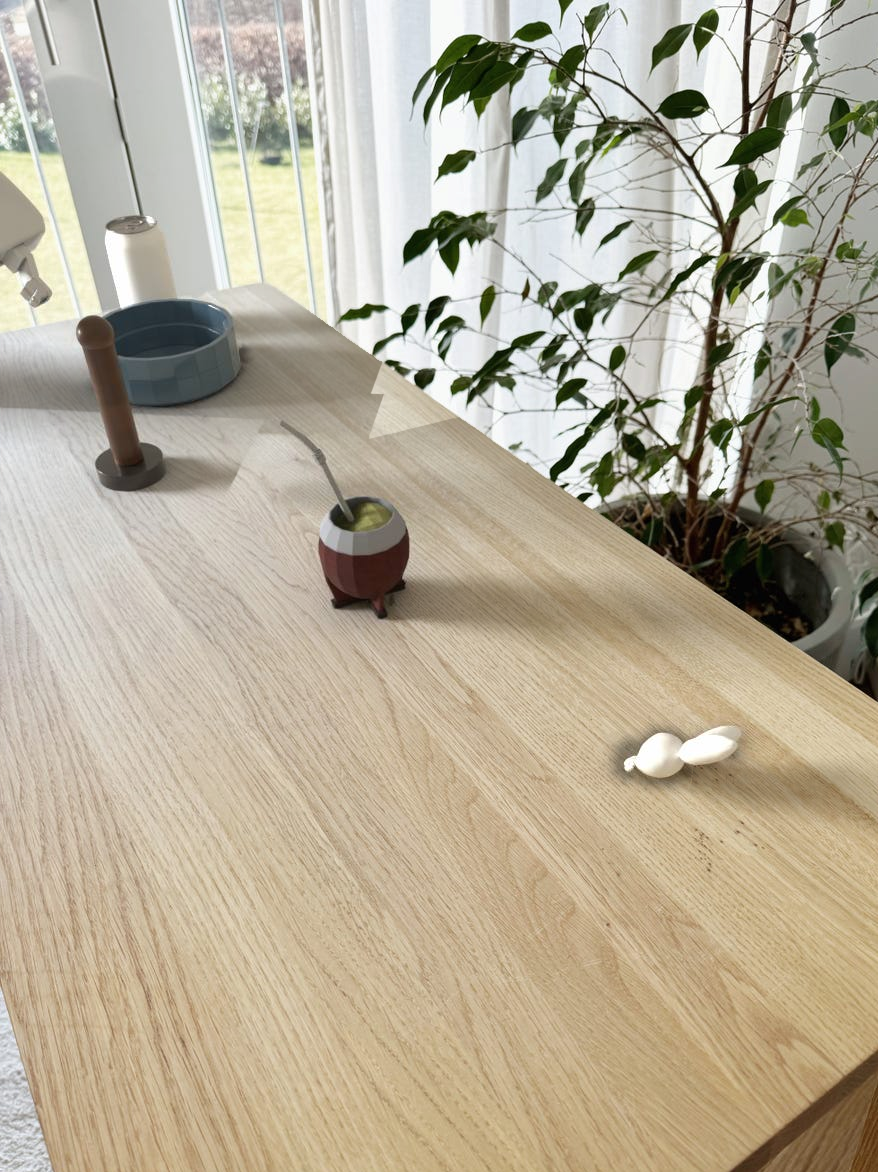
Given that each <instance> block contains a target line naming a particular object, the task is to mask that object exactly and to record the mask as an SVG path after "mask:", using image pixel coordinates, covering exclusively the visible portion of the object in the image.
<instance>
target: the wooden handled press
mask: <svg viewBox="0 0 878 1172" xmlns="http://www.w3.org/2000/svg"><path fill="white" fill-rule="evenodd" d="M75 336H76V339H77V342H78V343H79V345H80V346H81V348H82V353H83V355H84V360H85V363H86V366H87V369H88V373H89V377H90V380H91V384H92V387H93V392H94V394H95V398H96V401H97V405H98V409H99V413H100V415H101V420H102V423H103V426H104V430H105V434H106V436H107V437H106V438H107V441H108V444H109V448H107V449H105V450H103V452H101V453H100V454H99V455H98V456H97V457H96V459H95V462H94V468H95V470H96V473H97V478H98V481H99V483H100V484H101V486H103V487H104V488H105V489H108V490H111V491H116V492H133V491H139V490H143V489H146V488H149V487H151V486H153V485H155V484H156V483H158V482H159V481H161V480H162V479H163V478H164V476H165V475H166V473H167V466H166V462H165V457H164V453H163V451H162V450H161V448H160V447H159V446H157V445H154V444H151V443H148V442H141V441H140V437H139V434H138V429H137V426H136V422H135V418H134V414H133V410H132V407H131V403H130V402H129V398H128V394H127V390H126V386H125V383H124V379H123V375H122V371H121V367H120V363H119V359H118V355H117V352H116V348H115V344H114V330H113V328H112V326H111V324H110V323H109V322H108V321H107V320H106V319H104V318H103V316H100V315H98V314H97V315H95V314H91V315H86V316H84V317H83V318H81V319H80V320H79V322H78V323H77V325H76V328H75Z"/></svg>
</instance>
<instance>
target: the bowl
mask: <svg viewBox="0 0 878 1172" xmlns="http://www.w3.org/2000/svg"><path fill="white" fill-rule="evenodd" d="M102 317H103V318H104V319H106V320H107V321H108V322H109V323H110V324H111V326H112V328H113V330H114V344H115V348H116V352H117V355H118V359H119V363H120V367H121V371H122V375H123V379H124V383H125V386H126V390H127V394H128V398H129V402H130V405H131V404H132V405H137V406H145V407H147V406H148V407H165V406H166V407H167V406H176V405H177V406H178V405H181V404H187V403H191V402H195V401H198V400H202V399H205V398H207V397H209V396H211V395H214V394H215V393H217V392H219V391H221V390H222V389H224V387H226V386H227V385H228V384H229V383H231V382H232V381H233V380H235V378H236V377H237V375H238V374H239V372H240V370H241V368H242V367H241V358H240V351H239V346H238V345H239V344H238V339H237V335H236V327H235V323H234V316H233V315H232V314H231V313H230V312H229V311H228V310H227V309H226V308H224V307H222V306H220V305H217V304H215V303H212V302H209V301H203V300H198V299H194V298H193V299H192V298H177V299H163V300H151V301H146V302H141V303H137V304H132V305H128V306H125V307H122V308H121V307H120V308H116V309H115V310H112V311H109V312H107V313H106V314H104V315H103V316H102Z"/></svg>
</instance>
